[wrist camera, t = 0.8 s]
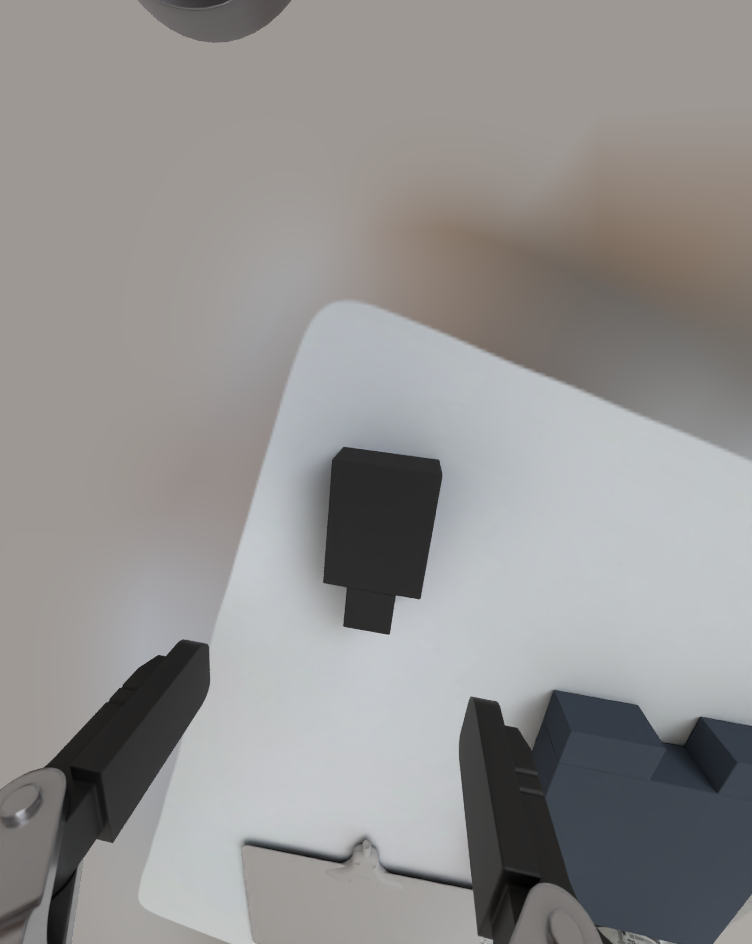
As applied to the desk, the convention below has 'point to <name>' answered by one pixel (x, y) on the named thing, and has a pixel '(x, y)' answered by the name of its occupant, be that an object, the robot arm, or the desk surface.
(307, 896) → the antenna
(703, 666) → the desk surface
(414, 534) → the pad tile
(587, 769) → the pad mat
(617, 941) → the ink bottle
